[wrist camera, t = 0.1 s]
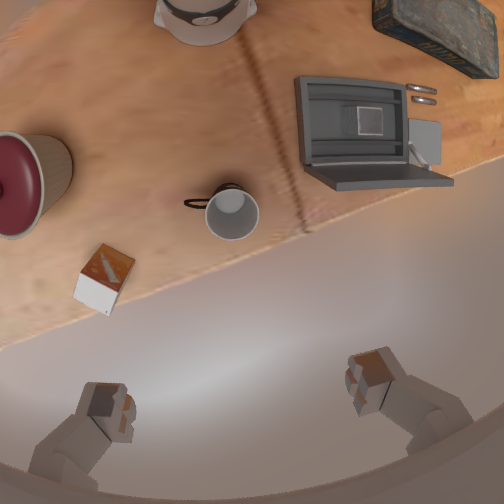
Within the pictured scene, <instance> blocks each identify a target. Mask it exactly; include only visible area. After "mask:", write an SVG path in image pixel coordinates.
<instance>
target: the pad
mask: <svg viewBox="0 0 504 504" xmlns="http://www.w3.org/2000/svg"><path fill="white" fill-rule="evenodd" d="M408 141H412V145H413V146H414V147H415V148H416V150H417V151H418V152H419V154H420V155H421V156H422V158H423V159H424V160H425V162H426V163H427V164H441V123H439V122H432V121H424V120H415V119H408ZM408 163H409V164H420V163H419V162H418V160H417V159H416V158H415V156H414V155H413V153H412V152H411V151H410V149H408Z"/></svg>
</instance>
